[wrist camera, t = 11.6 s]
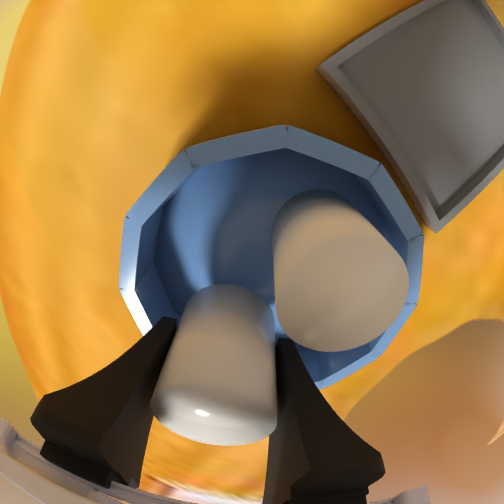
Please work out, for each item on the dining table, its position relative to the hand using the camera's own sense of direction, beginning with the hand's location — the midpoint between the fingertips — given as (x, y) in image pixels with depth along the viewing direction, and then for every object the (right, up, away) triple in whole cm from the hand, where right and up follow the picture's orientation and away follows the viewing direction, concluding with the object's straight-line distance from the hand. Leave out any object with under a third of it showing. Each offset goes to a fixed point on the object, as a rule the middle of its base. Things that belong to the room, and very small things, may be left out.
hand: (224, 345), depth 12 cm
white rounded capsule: (+4, +5, +1) cm, 7 cm away
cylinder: (0, +1, +1) cm, 2 cm away
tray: (+12, +13, -2) cm, 18 cm away
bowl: (+2, +4, +3) cm, 5 cm away
